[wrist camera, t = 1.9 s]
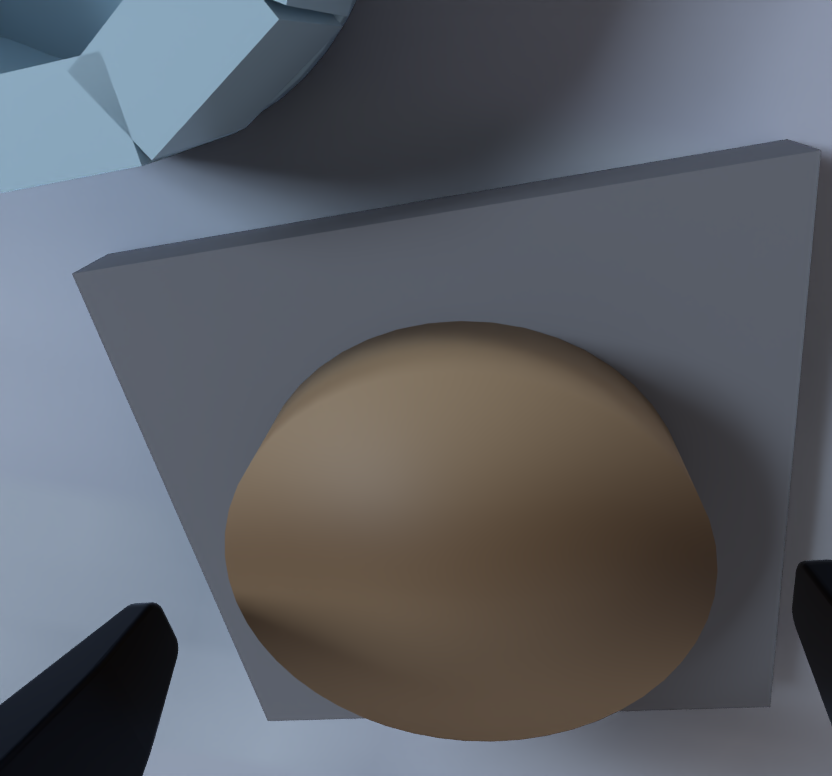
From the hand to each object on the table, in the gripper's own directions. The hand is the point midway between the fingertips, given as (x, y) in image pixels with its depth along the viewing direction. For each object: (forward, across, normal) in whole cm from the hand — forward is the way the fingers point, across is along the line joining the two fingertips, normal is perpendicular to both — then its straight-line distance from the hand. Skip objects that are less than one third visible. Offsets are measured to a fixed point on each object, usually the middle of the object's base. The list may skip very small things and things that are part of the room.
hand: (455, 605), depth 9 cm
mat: (+3, 0, 0) cm, 3 cm away
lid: (+2, 0, 0) cm, 2 cm away
